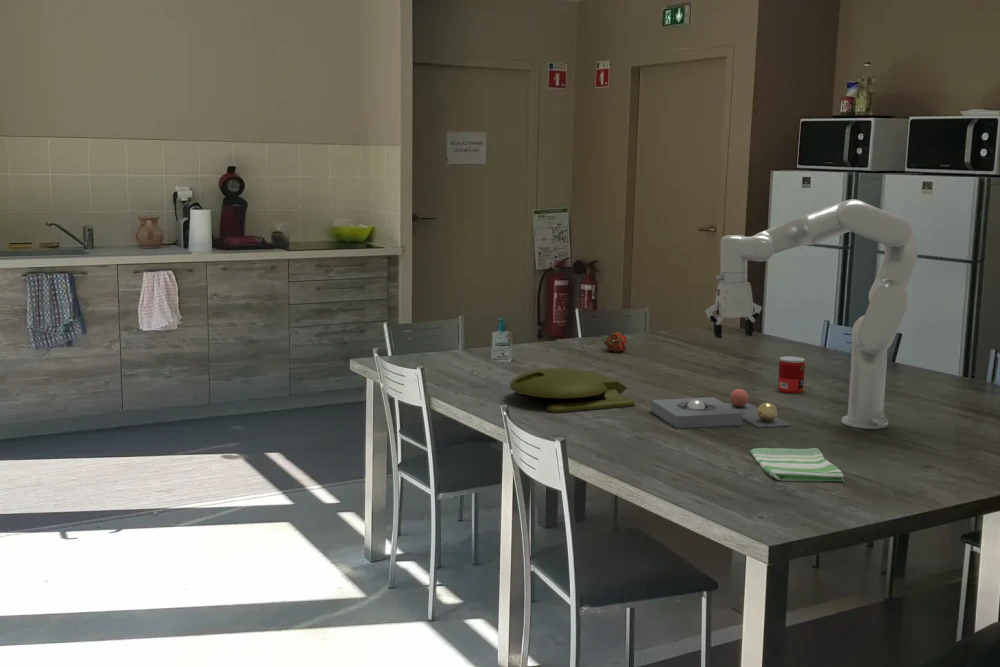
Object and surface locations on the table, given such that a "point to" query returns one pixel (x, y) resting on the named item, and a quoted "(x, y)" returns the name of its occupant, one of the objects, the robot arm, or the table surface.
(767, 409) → the brass ball
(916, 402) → the table surface
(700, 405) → the steel ball
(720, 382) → the table surface
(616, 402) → the spaceship
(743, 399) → the rubber ball
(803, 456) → the dish towel
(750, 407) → the mat
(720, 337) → the robot arm
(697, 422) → the board
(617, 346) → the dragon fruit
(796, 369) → the canned food
